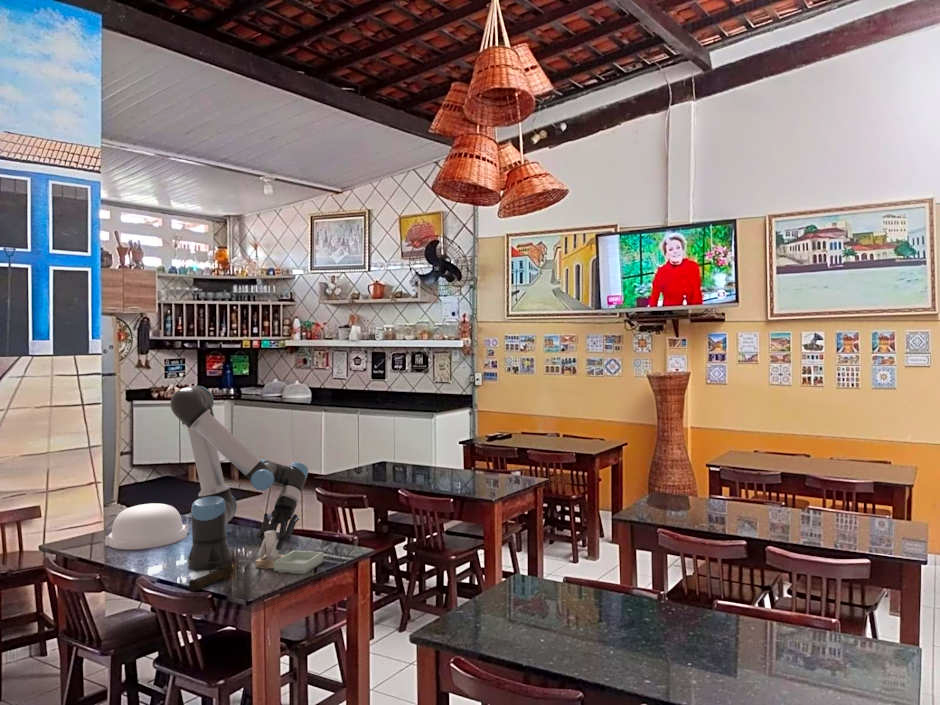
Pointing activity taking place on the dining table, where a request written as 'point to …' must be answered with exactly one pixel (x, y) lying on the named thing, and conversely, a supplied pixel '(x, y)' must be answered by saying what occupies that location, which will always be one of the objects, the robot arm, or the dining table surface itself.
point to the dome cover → (146, 527)
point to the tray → (298, 562)
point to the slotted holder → (266, 562)
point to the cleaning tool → (270, 543)
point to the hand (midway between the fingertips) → (266, 557)
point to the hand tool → (211, 577)
